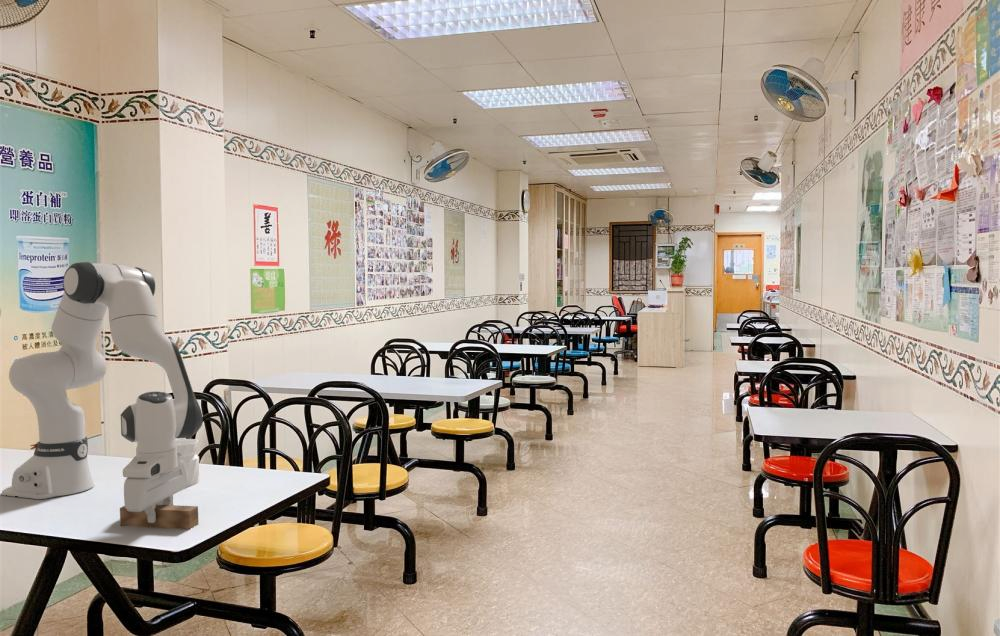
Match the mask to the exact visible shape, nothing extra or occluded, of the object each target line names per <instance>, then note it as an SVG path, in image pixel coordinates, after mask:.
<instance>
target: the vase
mask: <svg viewBox="0 0 1000 636" xmlns="http://www.w3.org/2000/svg"><path fill="white" fill-rule="evenodd" d="M175 441H176V443H177V453H180V454H181V455H182V456H183V461H184V462H185V464H186V469H187V477H188V484H187V487H192V486H194V485H197V484H199V483H200V482H201V481H200V480H201V476H200V456H199V455H198V454H196V452H198V451H199V440H198V439H197V438H196V439H195V438H194V439H193V438H179V439H175Z"/></svg>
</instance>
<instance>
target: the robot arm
mask: <svg viewBox="0 0 1000 636" xmlns="http://www.w3.org/2000/svg"><path fill="white" fill-rule="evenodd" d="M62 288H63V291H64V292H63V295H62V296H61V300H60V302H59V304H58V307H57V310H56V312H55V315H54V318H53V321H52V324H51V333H52V334H53V336H54V338H55V339H56V340H57V341H58V342H60V343H61V347H60V349H59V350H57V351H48V352H37V353H32V354H29V355H26V356H23V357H20V358H17V359H16V360H14V361H13V362H12V364H11V366H10V367H9V372H8V378H9V382H10V384H11V386H12V387H13V389H15V391H17V392H18V393H20V394H22V395H23V396H25V397H26V398H27V399H28V400H29V401H30V403H31V404H32V405H31V406H33V408H34V410H35V413H36V418H37V423H38V424H37V425H38V426H37V427H38V437H39V438H38V440H39V441H38V442H36V443H35V444H30V447H31V448H30V450H33V449H34V452H33V455H31V457H30V458H28V459H27V460H26V461H25V462H24V463H22V464H20V466H18V467H17V468H16V469H15V470H14V472H12V473H13V474H12V478H11V485H10V486H8V487H6V488H5V489H3V490H2V491H1V496H6V495H7V496H9V497H15V496H18V497H17V498H25V499H34V500H46V499H49V498H54V497H62V496H68V495H69V496H70V495H73V494H78V493H81V492H86V491H88V490H90V489H92V488H94V486H95V483H94V481H93V478H92V475H91V470H90V467H89V461H88V450H89V443H88V441H89V440H88V437H87V436H86V416H85V411H84V409H83V408H82V407H81V405H78V404H75V403H74V402H73V403H72V402H71V401H70V399H69V397H68V394H67V390H72V389H73V390H74V389H78V388H84V387H88V386H91V385H93V384H95V383H97V382H100V381H102V379H103V378H105V375H106V372H107V362H106V360H105V357H104V356H103V355H102V353H101V352H99V351H98V348H97V339H98V335H99V332H100V329H101V325H102V323H103V320H104V318H105V315H106V312H107V310H108V321H109V322H108V323H109V331H110V336H111V340H112V342H113V344H114V345H115V346H116V348H118V350H119V351H122V352H123V353H124V354H126V355H129V356H131V357H134V358H138V359H142V360H145V361H149V362H152V363H154V364H156V365H158V366H160V367H161V368H162V369H163V370H164V371H165V373H166V376H167V380H168V381H169V385H170V388H171V391H172V394H173V396H172V395H171V394H170V393H167V392H165V391H163V392H162V391H148V392H144V393H142V394H140V395H138V396H137V398H136V400H135V401H136V403H134V404H131V405H128V406H126V407H125V408H124V409H123V411H122V413H121V414H120V435H121V437H123V438H124V439H125V440H127V441H129V442H131V443H137V446H136V449H135V456H134V457H133V458H132V460H131V461H130V462H128V464H127V465H126V466H124V468H123V469H122V477H123V478H126V479H125V480H124V484H123V501H124V502H123V504H124V506H125V508H126V509H127V510H128V511H130V512H141V511H143V510H144V511H145V513H146V514H147V519H148V522H149V523H154V522H156V521H157V520H158V514H156V513H155V510H154V508H155V504H156V503H158V502H160V501H162V500H163V504H162V505H171V504H172V501H173V502H174V495H175V494H177V493H178V492H181V491H182V490H185V489H186V488H187V487H188V486H187V484H188V477H187V469H186V464H185V462H184V461H183V456H182V455H181V454H180V453H177V443H176V441H175V440H176V439H191V438H193V436H194V435H195V434H196V433H198V431H199V430H200V429H201V428H202V426H203V422H204V420H203V413H202V412H203V411H202V410H201V407H200V404H199V401H198V399H197V398H196V397H197V396H196V395H195V393H194V390H193V387H192V384H191V381H190V378H189V375H188V371H187V368H186V365H185V363H184V360H183V357H182V355H181V352H180V349H179V347H178V345H177V343H176V342H175V340H174V339H172V338H171V337H169V336H167V335H166V333H165V332H164V331H163V330H162V327H161V326H160V322H159V317H158V312H157V311H158V310H157V307H156V302H155V299H154V295H155V293H156V281H155V278H154V276H153V274H152V273H151V272H150V271H148V270H146V269H143V268H141V267H136V266H135V267H132V266H128V265H122V264H118V263H101V262H99V263H98V262H97V263H95V262H94V263H91V262H90V261H82V262H81V261H79V262H75V263H73V264H71V265H69V267H68V268H67V269H66V270H65V272H64V275H63V279H62ZM173 397H174V398H173ZM7 496H6V497H7Z"/></svg>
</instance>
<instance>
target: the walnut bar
mask: <svg viewBox="0 0 1000 636" xmlns="http://www.w3.org/2000/svg"><path fill="white" fill-rule="evenodd" d="M154 510H155V513H156V514H158V520H157V521H156V522H154V523H149V522H148V519H147V514H146V513H145V511H144V510H143V511H141V512H130V511H128V510H127V509H126V508H125V505H123V506H121V507H119V519H120V520H119V523H120V527H130V528H131V527H132V528H151V529H153V528H155V529H170V528H172V529H174V530H175V529H176V530H191V528H192V529H193V528H195V527H197V526H199V507H198V505H197V506H196V505H175V504H173V505H155V508H154ZM194 526H195V527H194Z"/></svg>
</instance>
